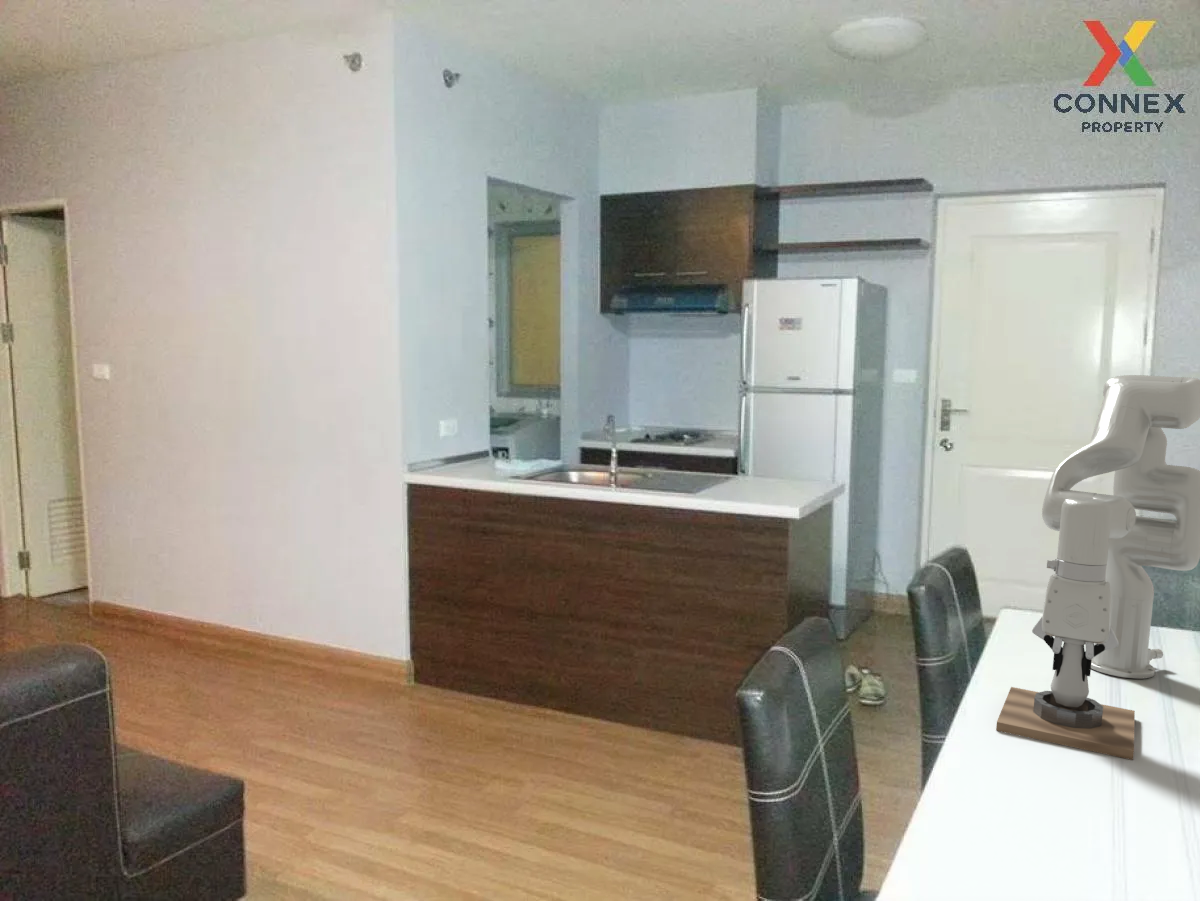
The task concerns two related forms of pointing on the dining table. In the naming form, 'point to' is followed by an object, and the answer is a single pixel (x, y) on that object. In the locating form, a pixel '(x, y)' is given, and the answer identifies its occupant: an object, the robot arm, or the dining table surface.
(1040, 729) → the board
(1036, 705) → the collar
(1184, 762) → the dining table surface
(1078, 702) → the salt shaker
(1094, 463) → the robot arm
